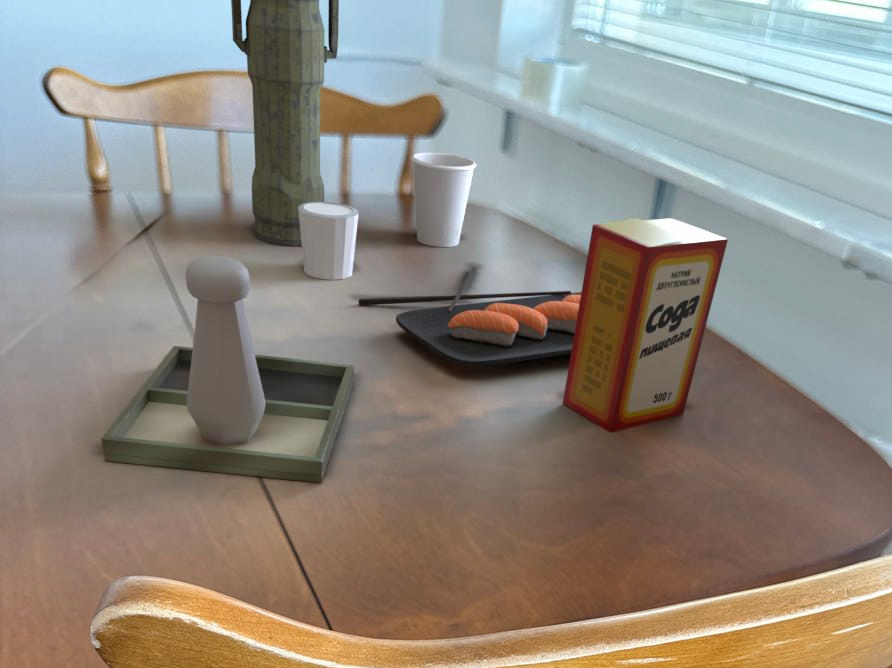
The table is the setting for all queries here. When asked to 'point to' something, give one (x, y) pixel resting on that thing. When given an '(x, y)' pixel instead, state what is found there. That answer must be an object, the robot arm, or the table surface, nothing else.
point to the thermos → (285, 107)
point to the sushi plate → (492, 325)
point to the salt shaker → (222, 354)
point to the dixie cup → (441, 196)
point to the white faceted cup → (328, 239)
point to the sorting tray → (276, 439)
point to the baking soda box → (641, 320)
